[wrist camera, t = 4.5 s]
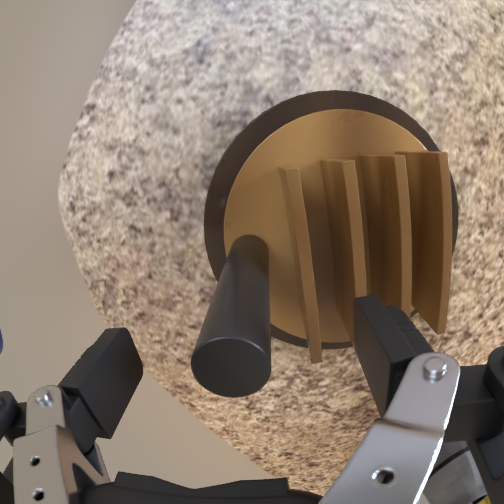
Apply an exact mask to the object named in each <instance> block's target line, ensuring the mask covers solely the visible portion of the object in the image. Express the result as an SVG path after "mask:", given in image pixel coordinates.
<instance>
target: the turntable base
mask: <svg viewBox="0 0 504 504" xmlns="http://www.w3.org/2000/svg"><path fill="white" fill-rule="evenodd" d="M333 109H351V110H359V111H365V112H369V113H373V114H376V115H379V116H382V117H384V118H386V119H389V120H391V121H393V122H395V123H396V124H398V125H400V126H401V127H403V128H404V129H406V130H407V131H409V132H410V133H411V134H412V135H413V136H414V137H416V138H417V139H418V140H419V141H420V142H421V143H422V144H423V146H424V147H425V148H426V149H427V150H428V151H434V152H441V151H440V149H439V147H438V146H437V144H436V143H435V142H434V140H433V139H432V138H431V136H430V135H429V134H428V133H427V132H426V130H425V129H424V128H423V127H422V126H421V125H420V124H419V123H418V122H417V121H415V120H414V119H413V118H412V117H410V116H409V115H408V114H406V113H405V112H404V111H402V110H401V109H399V108H397V107H395V106H394V105H392V104H390V103H388V102H386V101H384V100H381V99H378V98H376V97H373V96H370V95H366V94H362V93H357V92H352V91H339V90H331V91H317V92H312V93H308V94H303V95H299V96H296V97H293V98H291V99H288V100H286V101H283V102H281V103H279V104H277V105H275V106H273V107H272V108H270V109H268V110H266V111H265V112H263V113H262V114H261V115H259V116H258V117H257V118H255V119H254V120H253V121H251V122H250V123H249V124H248V125H247V126H246V127H245V128H244V129H243V130H242V131H241V132H240V133H239V134H238V135H237V136H236V137H235V139H234V140H233V141H232V143H231V144H230V146H229V147H228V148H227V150H226V151H225V153H224V154H223V156H222V158H221V160H220V162H219V164H218V166H217V167H216V169H215V172H214V175H213V177H212V180H211V183H210V186H209V189H208V194H207V199H206V204H205V213H204V235H205V244H206V249H207V254H208V259H209V262H210V265H211V267H212V270H213V273H214V276H215V278H216V280H217V282H218V281H219V278H220V275H221V273H222V270H223V267H224V265H225V262H226V259H227V257H226V251H225V244H224V218H225V210H226V205H227V201H228V198H229V194H230V191H231V188H232V186H233V184H234V181H235V179H236V177H237V175H238V173H239V171H240V170H241V168H242V166H243V165H244V163H245V161H246V160H247V159H248V157H249V156H250V155H251V154H252V152H253V151H254V150H255V149H256V147H257V146H258V145H260V144H261V143H262V142H263V141H264V140H265V139H266V138H267V137H268V136H269V135H271V134H272V133H273V132H275V131H276V130H278V129H279V128H281V127H282V126H284V125H285V124H287V123H289V122H291V121H293V120H295V119H297V118H300V117H303V116H306V115H309V114H312V113H315V112H320V111H326V110H333ZM449 171H450V169H449ZM450 184H451V201H452V255H453V252H454V247H455V243H456V239H457V230H458V202H457V194H456V189H455V185H454V181H453V177H452V174H451V172H450ZM416 313H417V310H416V309H414V310H413V311H412V312H411V313H410V318H412V317H413V316H414V315H415V314H416ZM270 328H271V336H273V337H275V338H277V339H279V340H281V341H284V342H287V343H290V344H294V345H297V346H302V347H307V348H308V343H307V339H304V338H300V337H297V336H295V335H292V334H289V333H287V332H285V331H283V330H281V329H279V328H278V327H276V326H274V325H273V324H272V323H270ZM352 346H353V344H352V342H351V341H347V342H321V349H339V348H347V347H352Z"/></svg>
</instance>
